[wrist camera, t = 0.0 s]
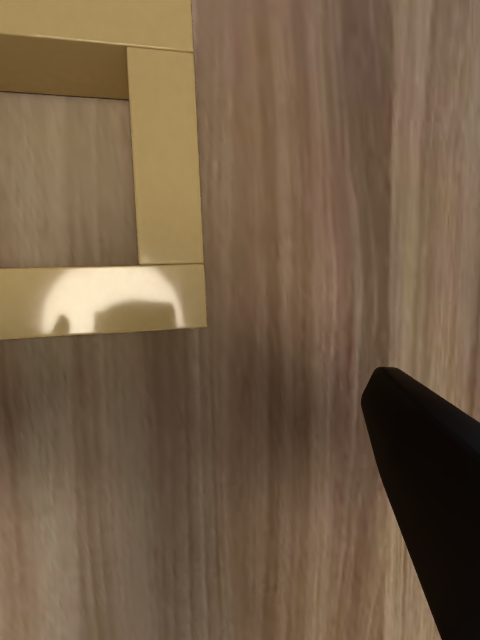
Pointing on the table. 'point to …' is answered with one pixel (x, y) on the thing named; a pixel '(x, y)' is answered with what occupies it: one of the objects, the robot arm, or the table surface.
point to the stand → (147, 155)
